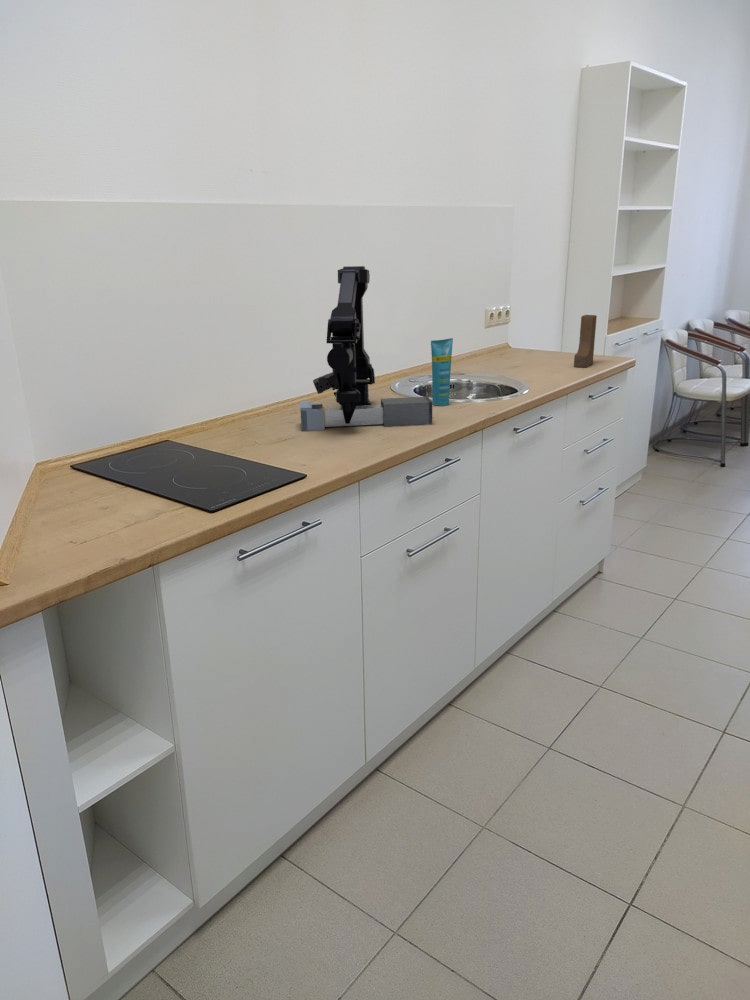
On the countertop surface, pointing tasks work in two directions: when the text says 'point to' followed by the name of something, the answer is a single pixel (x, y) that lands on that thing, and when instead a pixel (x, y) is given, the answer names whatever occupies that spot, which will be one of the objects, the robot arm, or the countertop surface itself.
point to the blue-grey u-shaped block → (311, 416)
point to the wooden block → (586, 342)
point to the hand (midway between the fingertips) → (346, 421)
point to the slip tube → (354, 416)
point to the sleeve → (407, 411)
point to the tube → (441, 370)
